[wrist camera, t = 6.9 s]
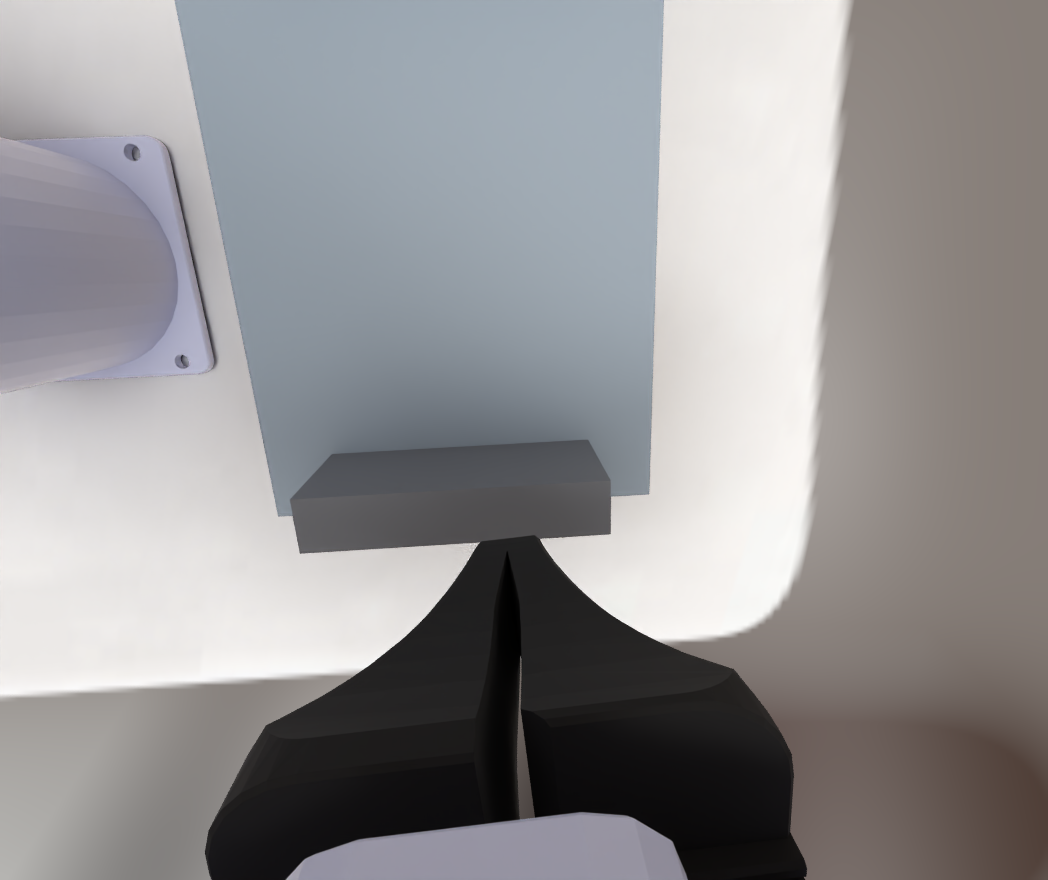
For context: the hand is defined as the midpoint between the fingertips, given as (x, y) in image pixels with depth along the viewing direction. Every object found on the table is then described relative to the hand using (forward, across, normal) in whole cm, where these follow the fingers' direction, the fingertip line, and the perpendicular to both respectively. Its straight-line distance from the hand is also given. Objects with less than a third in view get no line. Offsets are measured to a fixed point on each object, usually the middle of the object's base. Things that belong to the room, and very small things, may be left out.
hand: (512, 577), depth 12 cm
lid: (+6, +1, -7) cm, 10 cm away
